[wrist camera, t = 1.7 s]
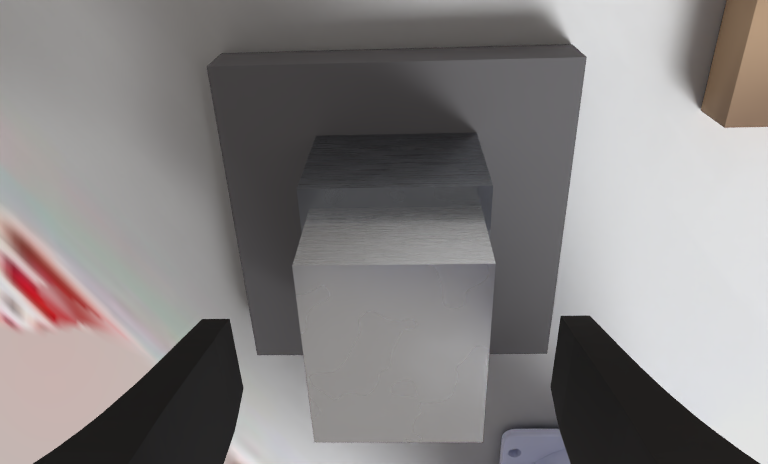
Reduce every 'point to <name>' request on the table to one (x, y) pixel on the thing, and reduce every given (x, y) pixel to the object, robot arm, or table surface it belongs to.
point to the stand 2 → (740, 67)
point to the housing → (395, 286)
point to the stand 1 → (402, 116)
